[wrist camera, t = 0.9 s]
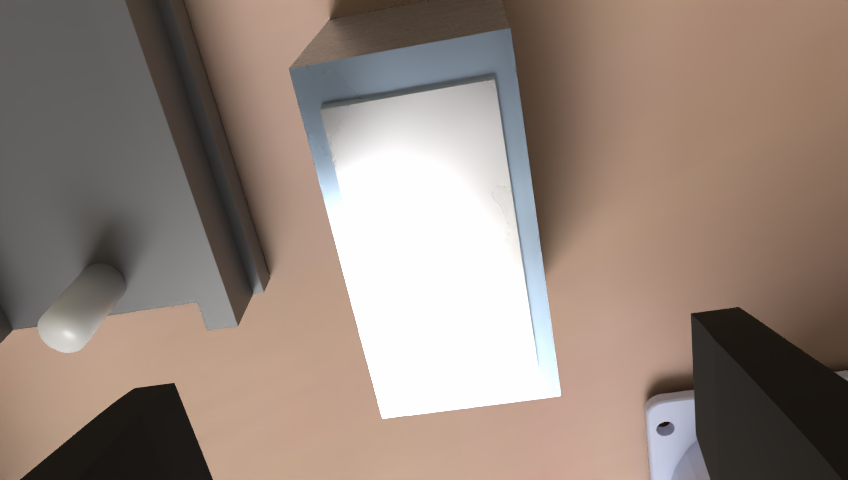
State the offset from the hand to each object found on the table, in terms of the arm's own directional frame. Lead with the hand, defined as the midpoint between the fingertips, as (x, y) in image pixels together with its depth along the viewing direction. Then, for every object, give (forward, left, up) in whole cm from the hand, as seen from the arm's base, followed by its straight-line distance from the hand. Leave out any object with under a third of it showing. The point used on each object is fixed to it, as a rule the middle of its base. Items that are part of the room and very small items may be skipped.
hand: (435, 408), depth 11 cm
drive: (0, 0, -10) cm, 10 cm away
